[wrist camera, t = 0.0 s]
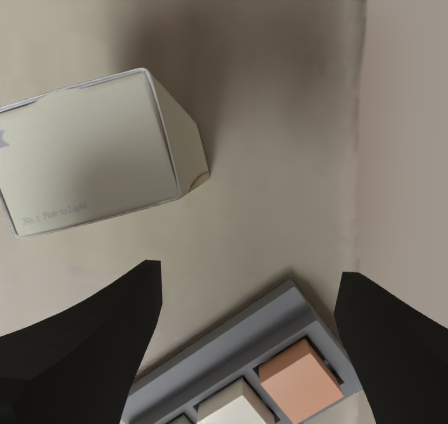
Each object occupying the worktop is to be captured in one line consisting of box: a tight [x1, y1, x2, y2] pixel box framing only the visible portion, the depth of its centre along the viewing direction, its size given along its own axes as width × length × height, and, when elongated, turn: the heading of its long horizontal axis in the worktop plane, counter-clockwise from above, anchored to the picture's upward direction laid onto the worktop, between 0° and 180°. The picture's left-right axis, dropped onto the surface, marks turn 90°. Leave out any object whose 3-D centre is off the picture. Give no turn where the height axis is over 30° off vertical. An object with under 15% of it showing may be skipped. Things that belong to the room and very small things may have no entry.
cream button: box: [196, 378, 275, 424], centre depth 21 cm, size 4×4×2 cm
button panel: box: [121, 278, 363, 424], centre depth 23 cm, size 18×10×3 cm, turn 127°
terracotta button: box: [259, 338, 344, 424], centre depth 20 cm, size 4×4×2 cm
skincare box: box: [0, 67, 210, 239], centre depth 15 cm, size 6×4×12 cm
